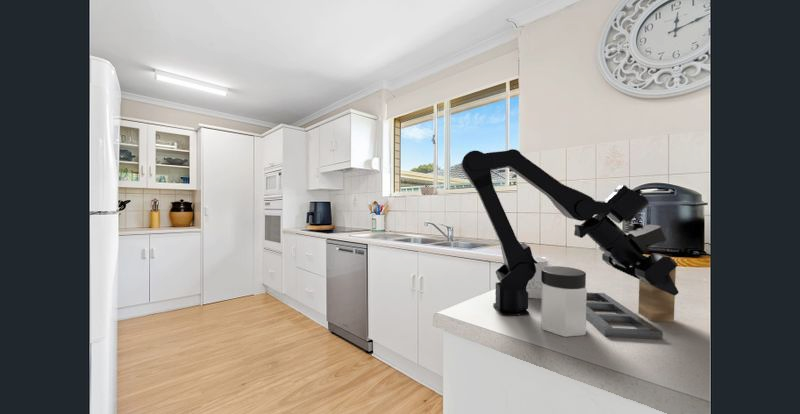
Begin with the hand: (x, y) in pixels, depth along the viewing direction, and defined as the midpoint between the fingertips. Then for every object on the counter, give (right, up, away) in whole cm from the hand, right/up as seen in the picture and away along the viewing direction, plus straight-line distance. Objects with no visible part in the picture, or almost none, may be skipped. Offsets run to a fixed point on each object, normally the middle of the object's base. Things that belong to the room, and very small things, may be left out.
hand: (663, 288), depth 70 cm
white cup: (-22, -6, +17) cm, 28 cm away
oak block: (-1, -7, +1) cm, 7 cm away
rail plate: (-12, -7, +2) cm, 14 cm away
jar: (-25, -7, -4) cm, 26 cm away
